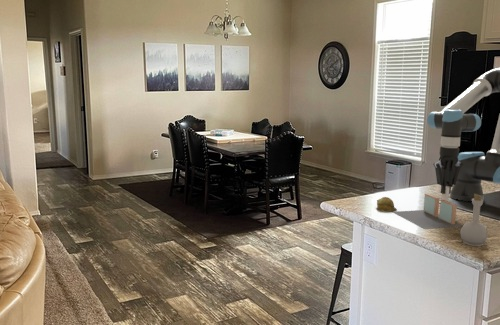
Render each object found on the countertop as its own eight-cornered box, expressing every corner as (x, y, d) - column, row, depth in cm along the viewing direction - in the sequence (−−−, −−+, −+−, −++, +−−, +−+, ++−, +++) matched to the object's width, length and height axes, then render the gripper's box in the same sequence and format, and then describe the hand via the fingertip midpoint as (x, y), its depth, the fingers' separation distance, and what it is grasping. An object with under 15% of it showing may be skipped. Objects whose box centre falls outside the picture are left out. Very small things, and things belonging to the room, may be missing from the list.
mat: (428, 211, 206) (428, 209, 206) (464, 227, 183) (464, 226, 183) (391, 213, 202) (391, 211, 202) (424, 230, 179) (424, 228, 179)
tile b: (442, 218, 193) (443, 199, 191) (454, 224, 185) (456, 204, 184) (438, 218, 192) (440, 199, 191) (451, 224, 185) (453, 205, 183)
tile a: (426, 211, 203) (427, 193, 202) (437, 216, 196) (439, 197, 194) (423, 211, 203) (424, 193, 202) (434, 216, 195) (435, 198, 194)
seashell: (393, 221, 205) (401, 205, 207) (391, 214, 199) (399, 198, 201) (373, 213, 210) (380, 198, 212) (370, 206, 204) (378, 191, 207)
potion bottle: (454, 239, 169) (459, 190, 166) (478, 238, 170) (483, 190, 167) (468, 247, 161) (473, 196, 158) (492, 247, 162) (498, 196, 158)
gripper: (457, 145, 201) (452, 198, 205) (430, 145, 198) (426, 199, 202) (469, 147, 194) (463, 202, 198) (441, 148, 191) (436, 203, 195)
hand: (444, 200), depth 200 cm, fingers closed
